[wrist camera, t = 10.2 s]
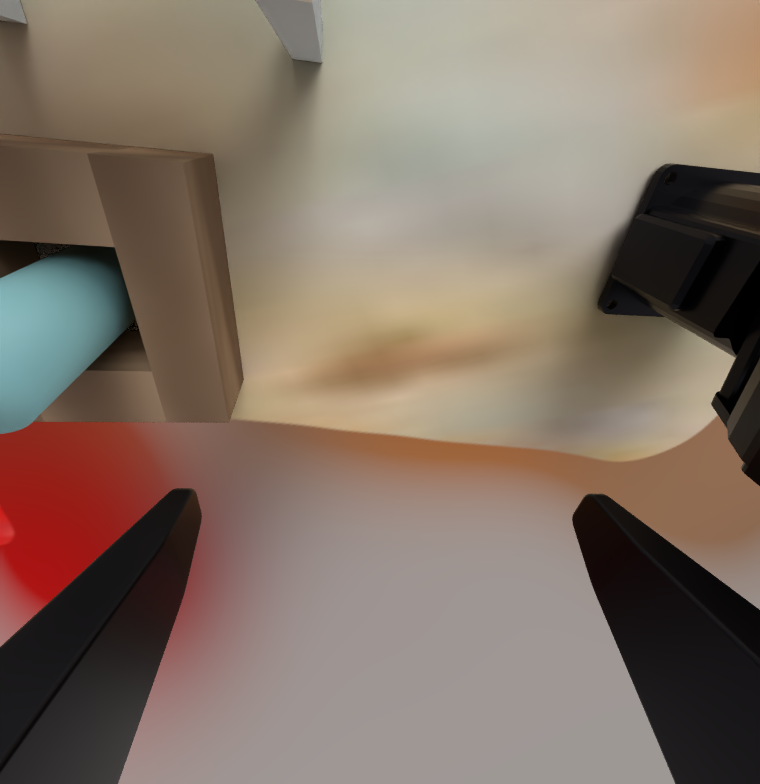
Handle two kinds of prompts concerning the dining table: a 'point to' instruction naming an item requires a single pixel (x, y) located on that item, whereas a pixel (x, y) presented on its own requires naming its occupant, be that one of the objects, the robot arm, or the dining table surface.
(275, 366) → the dining table surface
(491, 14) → the dining table surface
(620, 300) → the robot arm
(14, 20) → the small white footstool
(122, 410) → the socket
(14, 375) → the peg
